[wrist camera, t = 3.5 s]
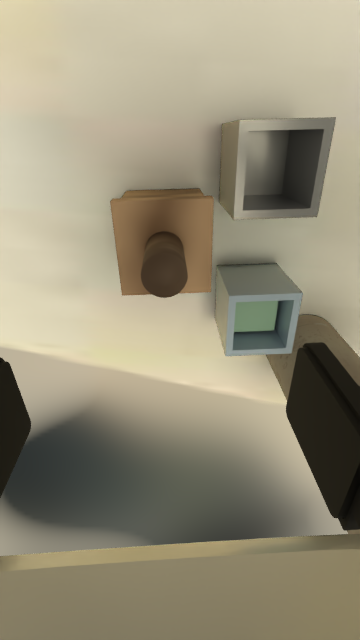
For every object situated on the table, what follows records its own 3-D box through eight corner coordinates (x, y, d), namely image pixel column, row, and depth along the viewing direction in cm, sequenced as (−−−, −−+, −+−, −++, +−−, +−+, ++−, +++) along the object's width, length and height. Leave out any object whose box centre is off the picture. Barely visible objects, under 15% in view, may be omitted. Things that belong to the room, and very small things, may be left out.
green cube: (267, 275, 32) (279, 292, 28) (262, 310, 34) (274, 330, 30) (227, 276, 32) (235, 293, 28) (225, 311, 34) (232, 332, 30)
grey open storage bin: (295, 121, 26) (335, 117, 20) (285, 200, 29) (317, 216, 23) (222, 123, 26) (239, 119, 20) (219, 202, 29) (233, 219, 23)
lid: (211, 195, 23) (225, 213, 17) (209, 285, 26) (220, 324, 21) (112, 198, 22) (96, 218, 17) (123, 289, 26) (112, 328, 21)
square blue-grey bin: (276, 263, 32) (302, 293, 26) (269, 315, 35) (291, 353, 29) (216, 265, 32) (229, 296, 26) (214, 317, 35) (225, 356, 29)
